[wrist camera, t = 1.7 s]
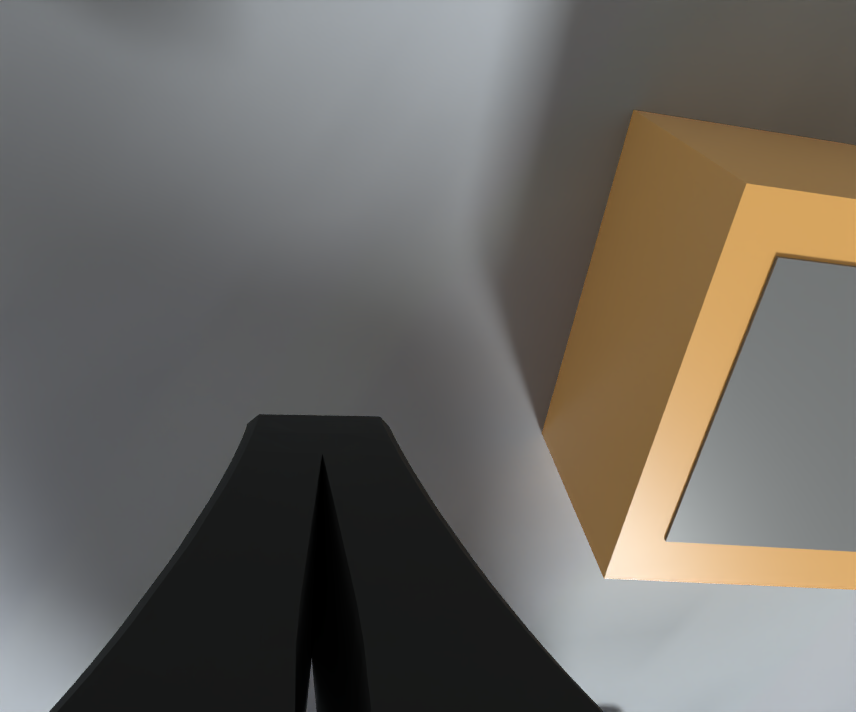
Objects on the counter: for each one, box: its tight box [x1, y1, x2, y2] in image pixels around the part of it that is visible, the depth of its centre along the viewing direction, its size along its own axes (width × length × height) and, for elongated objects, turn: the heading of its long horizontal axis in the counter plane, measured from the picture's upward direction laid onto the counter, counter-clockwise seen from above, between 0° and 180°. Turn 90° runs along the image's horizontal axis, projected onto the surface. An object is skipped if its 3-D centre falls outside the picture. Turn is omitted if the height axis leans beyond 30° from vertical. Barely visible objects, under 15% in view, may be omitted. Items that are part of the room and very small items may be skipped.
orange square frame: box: [542, 110, 856, 590], centre depth 13 cm, size 6×7×4 cm
